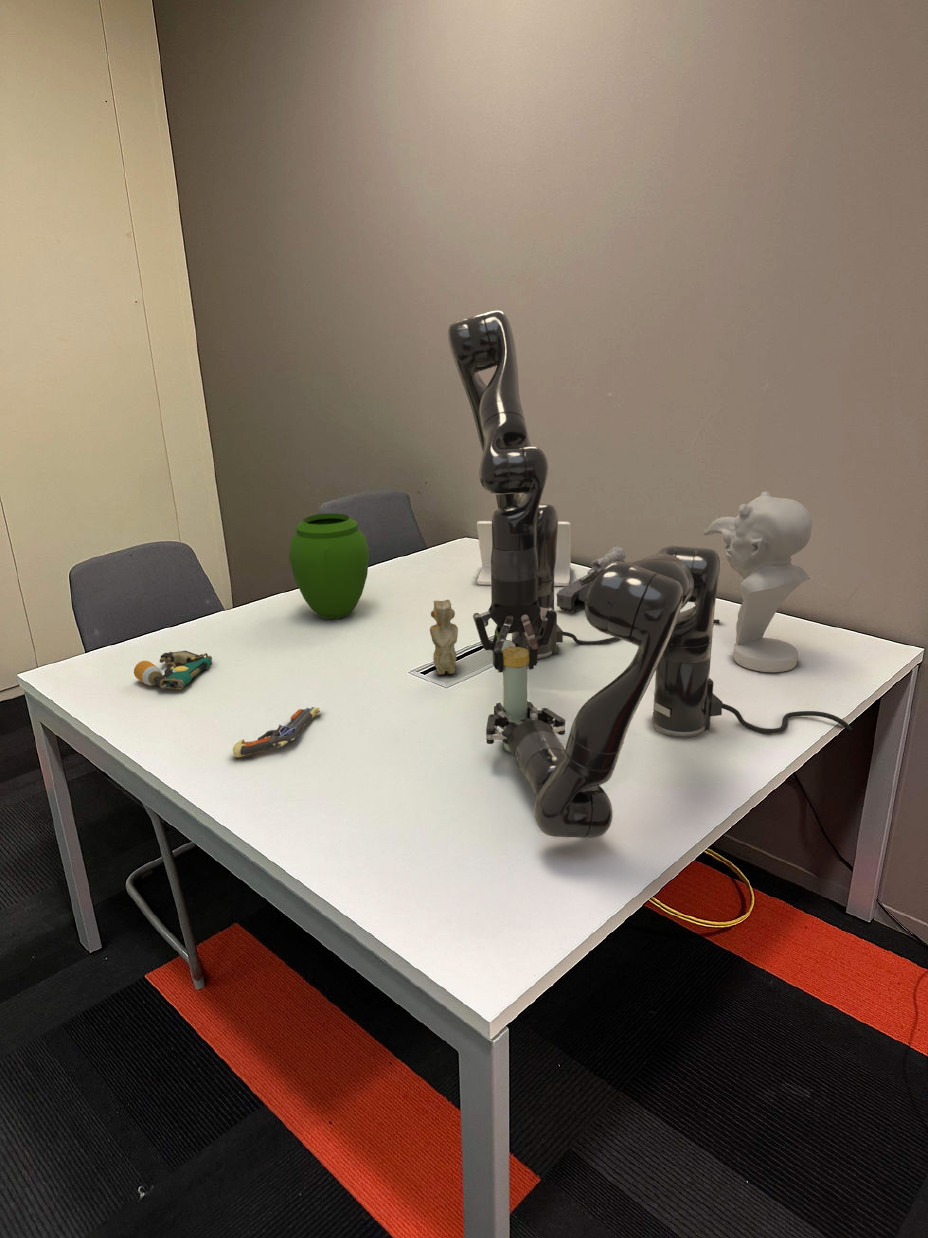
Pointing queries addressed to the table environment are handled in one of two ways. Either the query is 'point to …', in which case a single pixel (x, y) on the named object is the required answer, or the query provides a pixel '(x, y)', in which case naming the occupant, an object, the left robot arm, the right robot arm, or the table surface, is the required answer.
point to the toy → (586, 582)
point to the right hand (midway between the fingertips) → (511, 706)
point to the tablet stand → (561, 553)
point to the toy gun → (277, 734)
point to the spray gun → (172, 669)
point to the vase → (329, 563)
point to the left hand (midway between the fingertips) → (514, 668)
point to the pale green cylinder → (515, 693)
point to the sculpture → (444, 637)
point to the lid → (515, 657)
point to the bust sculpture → (764, 574)
